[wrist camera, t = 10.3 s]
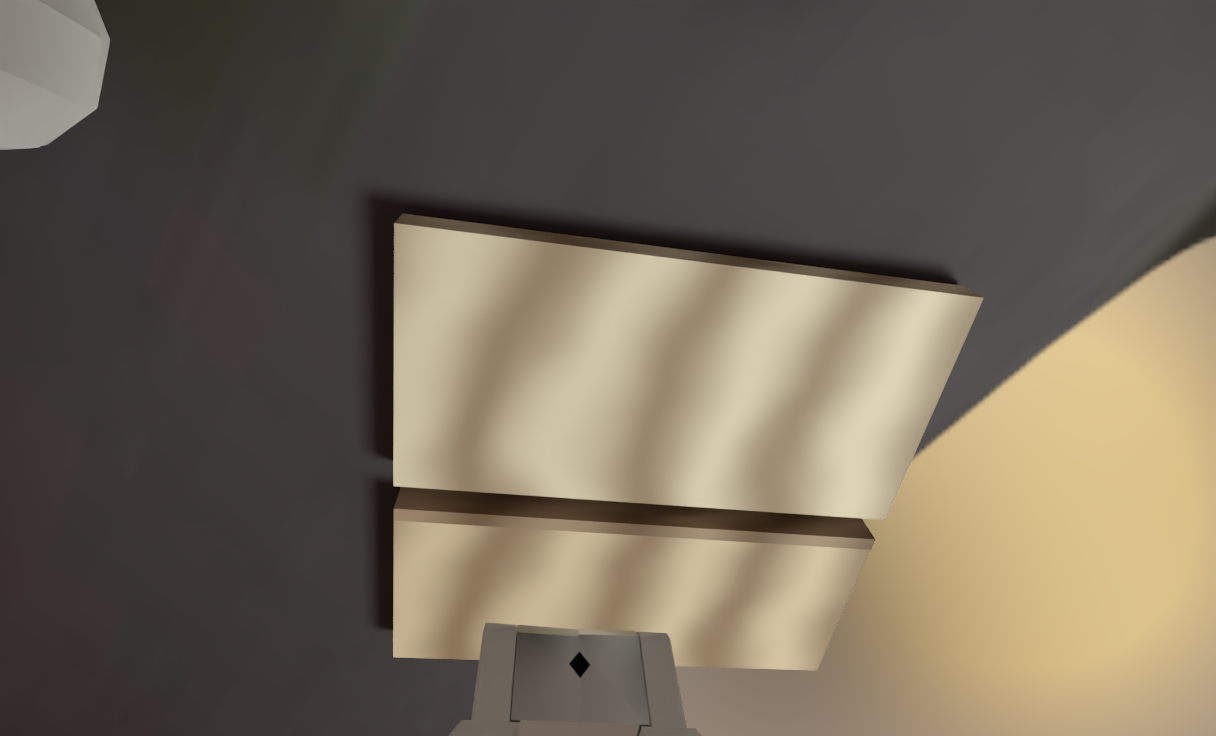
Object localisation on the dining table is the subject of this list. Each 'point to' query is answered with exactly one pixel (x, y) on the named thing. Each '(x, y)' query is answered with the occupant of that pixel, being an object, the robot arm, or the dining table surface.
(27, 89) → the vase
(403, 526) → the plank
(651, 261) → the loose plank
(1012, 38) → the dining table surface
